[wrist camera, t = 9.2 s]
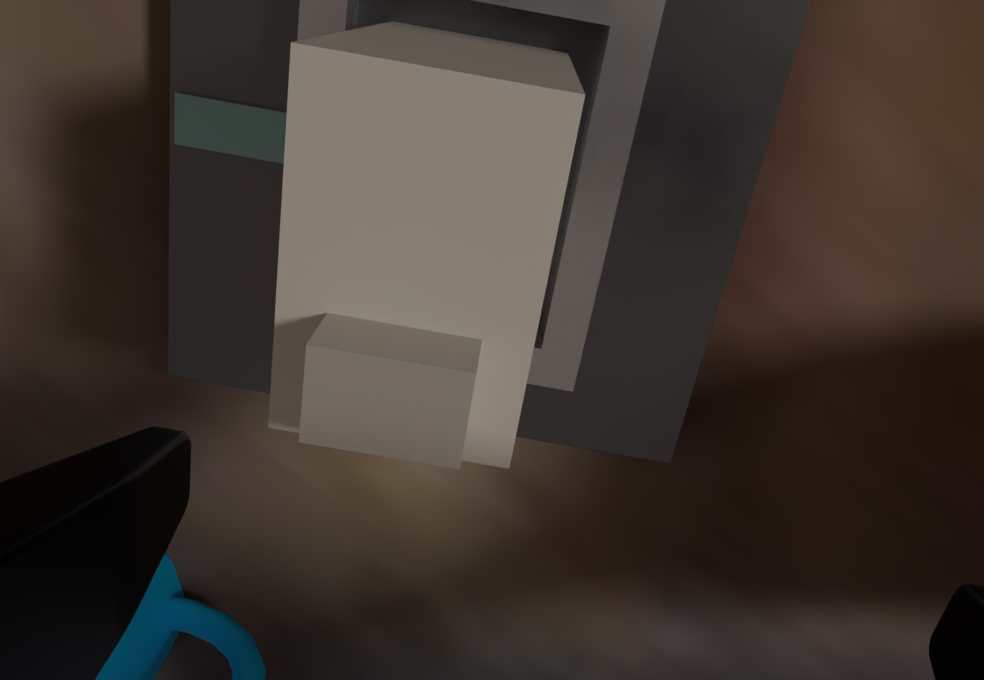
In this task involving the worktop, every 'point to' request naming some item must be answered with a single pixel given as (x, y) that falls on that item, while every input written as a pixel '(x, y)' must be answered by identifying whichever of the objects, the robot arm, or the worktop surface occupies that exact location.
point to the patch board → (586, 208)
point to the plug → (417, 238)
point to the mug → (160, 624)
